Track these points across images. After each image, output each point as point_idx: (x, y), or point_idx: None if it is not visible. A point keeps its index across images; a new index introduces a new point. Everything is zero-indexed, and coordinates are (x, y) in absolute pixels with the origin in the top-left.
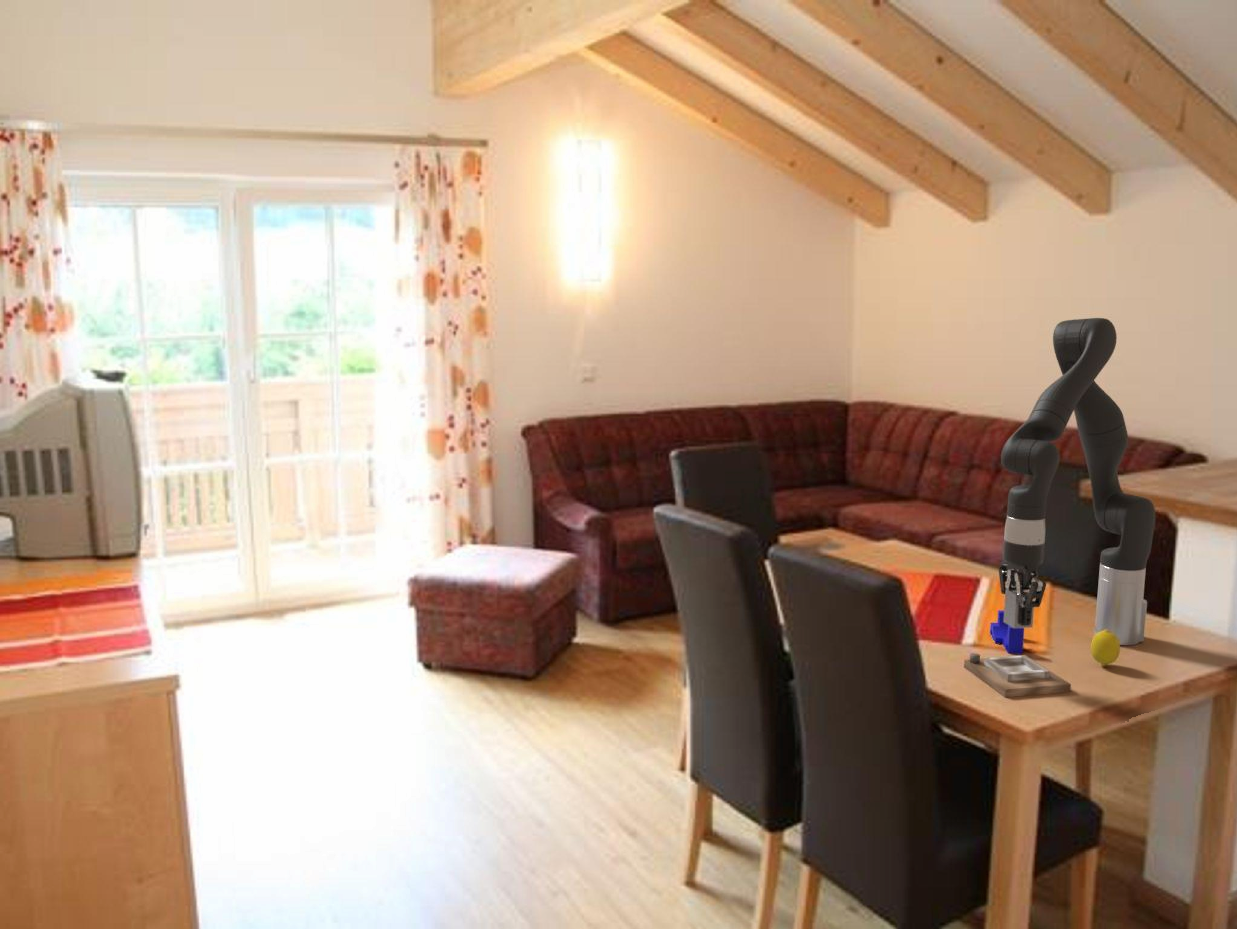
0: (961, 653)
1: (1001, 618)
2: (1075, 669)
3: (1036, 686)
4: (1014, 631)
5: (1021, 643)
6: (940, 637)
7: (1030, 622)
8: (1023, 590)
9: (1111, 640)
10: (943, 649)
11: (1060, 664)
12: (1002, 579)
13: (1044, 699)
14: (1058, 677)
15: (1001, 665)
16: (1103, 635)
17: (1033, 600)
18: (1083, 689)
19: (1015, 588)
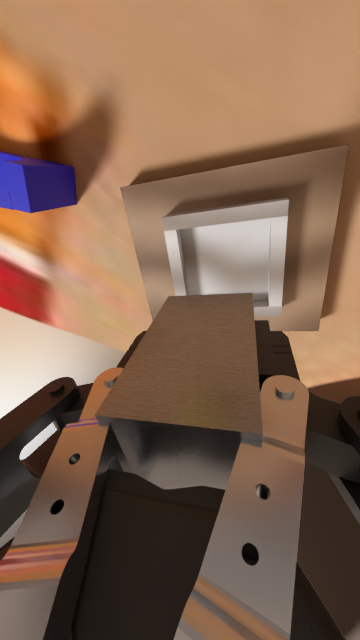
0: (94, 299)
1: None
2: (174, 26)
3: (326, 258)
4: (35, 196)
5: (56, 171)
6: (25, 300)
7: (282, 333)
8: (166, 450)
9: None
10: (80, 319)
11: (135, 71)
12: (29, 501)
13: (357, 247)
14: (286, 162)
15: (192, 282)
16: None
17: (306, 425)
18: (337, 83)
19: (128, 466)
